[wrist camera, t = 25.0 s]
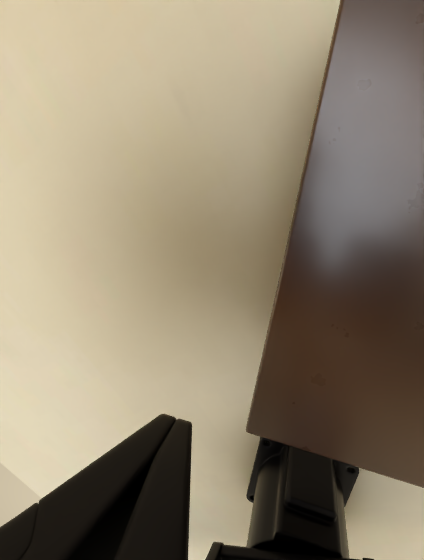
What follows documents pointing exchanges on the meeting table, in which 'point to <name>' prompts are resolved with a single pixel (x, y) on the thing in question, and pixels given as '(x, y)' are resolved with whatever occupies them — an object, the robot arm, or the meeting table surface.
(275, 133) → the meeting table surface
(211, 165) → the meeting table surface
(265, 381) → the cabinet
